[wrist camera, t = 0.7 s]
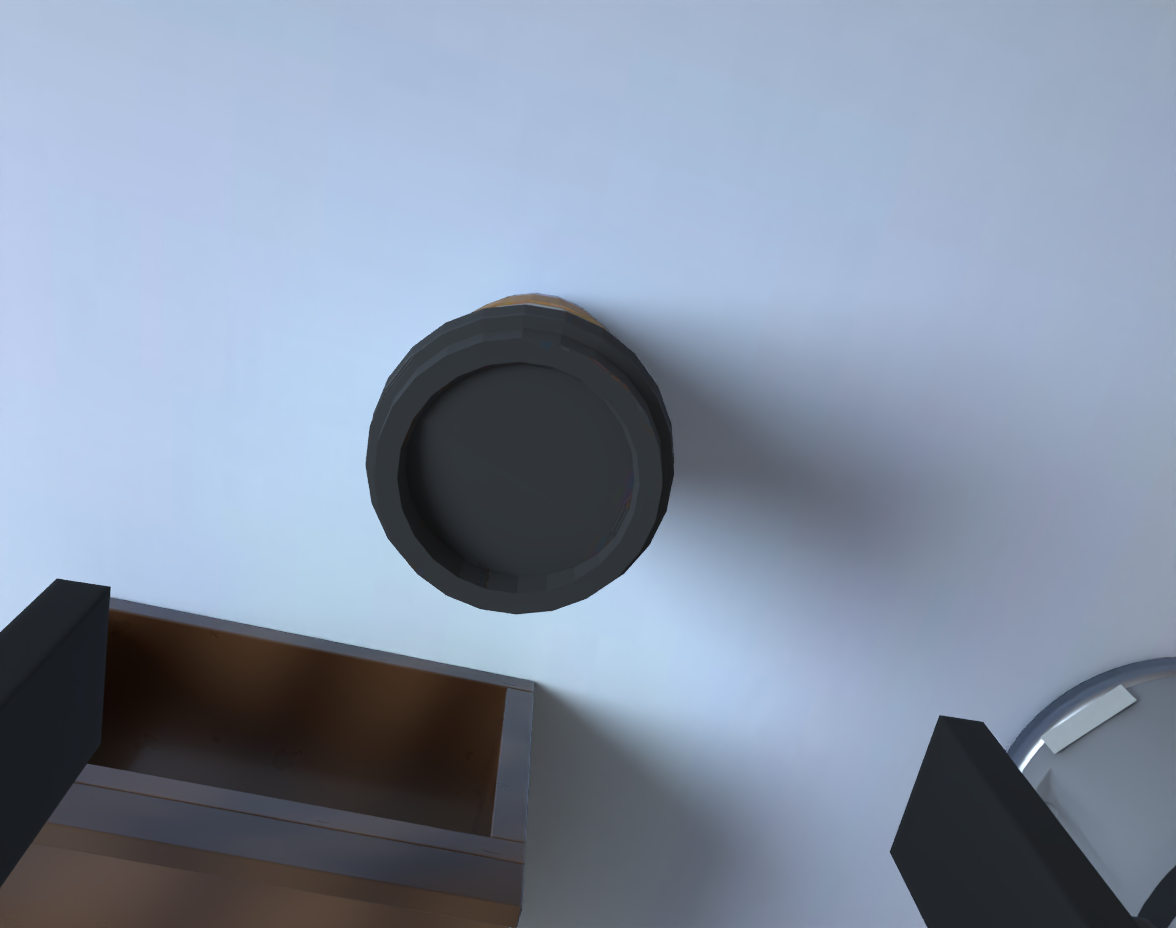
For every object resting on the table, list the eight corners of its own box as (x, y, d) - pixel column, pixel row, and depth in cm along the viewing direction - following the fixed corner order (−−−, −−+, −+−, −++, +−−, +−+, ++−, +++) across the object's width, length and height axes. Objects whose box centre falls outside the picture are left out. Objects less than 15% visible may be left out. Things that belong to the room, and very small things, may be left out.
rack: (534, 681, 43) (522, 907, 30) (475, 924, 46) (440, 1227, 33) (66, 588, 41) (-173, 784, 28) (40, 848, 45) (-184, 1135, 31)
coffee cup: (568, 509, 41) (571, 686, 26) (391, 405, 39) (292, 532, 25) (679, 338, 39) (748, 429, 25) (497, 223, 38) (458, 248, 23)
